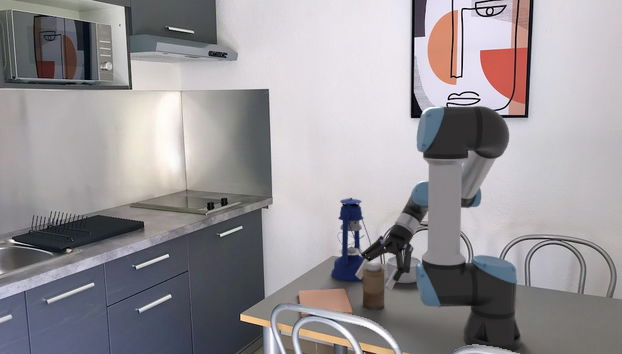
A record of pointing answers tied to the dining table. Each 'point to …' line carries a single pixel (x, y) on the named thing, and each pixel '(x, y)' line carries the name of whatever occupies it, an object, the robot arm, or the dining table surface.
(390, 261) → the ramekin
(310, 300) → the plate
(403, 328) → the dining table surface
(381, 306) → the pepper mill
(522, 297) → the dining table surface
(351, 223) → the lantern
